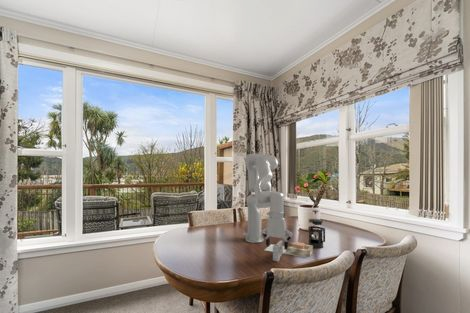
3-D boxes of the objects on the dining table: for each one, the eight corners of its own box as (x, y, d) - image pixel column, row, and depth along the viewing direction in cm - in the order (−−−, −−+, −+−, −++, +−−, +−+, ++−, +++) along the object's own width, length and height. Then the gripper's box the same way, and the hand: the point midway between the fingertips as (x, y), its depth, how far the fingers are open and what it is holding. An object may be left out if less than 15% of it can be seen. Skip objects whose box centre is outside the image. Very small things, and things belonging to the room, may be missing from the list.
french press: (312, 249, 146) (312, 212, 148) (304, 244, 156) (304, 209, 157) (328, 248, 149) (328, 211, 150) (320, 243, 158) (319, 209, 159)
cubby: (286, 253, 139) (286, 247, 139) (290, 247, 148) (290, 242, 148) (309, 257, 133) (309, 250, 133) (312, 251, 142) (312, 245, 142)
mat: (264, 250, 144) (264, 250, 144) (270, 244, 155) (270, 244, 155) (309, 258, 132) (309, 258, 132) (313, 251, 143) (313, 250, 143)
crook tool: (272, 261, 128) (272, 246, 128) (279, 254, 138) (279, 240, 139) (278, 262, 126) (278, 246, 127) (284, 255, 137) (284, 241, 137)
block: (294, 252, 139) (294, 244, 140) (296, 250, 144) (296, 241, 144) (302, 254, 137) (302, 245, 137) (304, 251, 142) (304, 243, 142)
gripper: (259, 215, 130) (259, 247, 129) (290, 217, 122) (291, 252, 121) (263, 213, 137) (264, 243, 135) (294, 215, 129) (294, 247, 127)
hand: (276, 247), depth 128 cm, fingers open, 9 cm apart
